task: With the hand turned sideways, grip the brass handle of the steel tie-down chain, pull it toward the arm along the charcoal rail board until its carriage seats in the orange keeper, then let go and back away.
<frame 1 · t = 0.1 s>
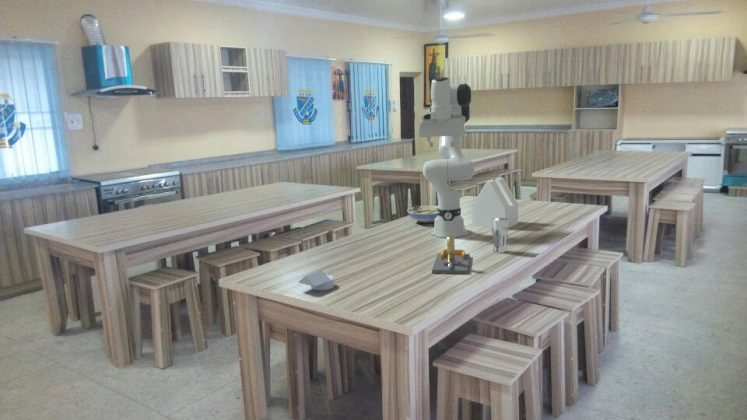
hand: (442, 146, 242), 48 cm above the table, tool pointing down, fingers open, 8 cm apart
milk carton: (495, 225, 299), on the table
ramen bowl: (427, 222, 313), on the table
rail board: (451, 264, 230), on the table
wedge on round base: (319, 288, 209), on the table
beer glass: (499, 251, 247), on the table
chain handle: (450, 251, 223), point 7 cm above the table, slide at 0.0 cm
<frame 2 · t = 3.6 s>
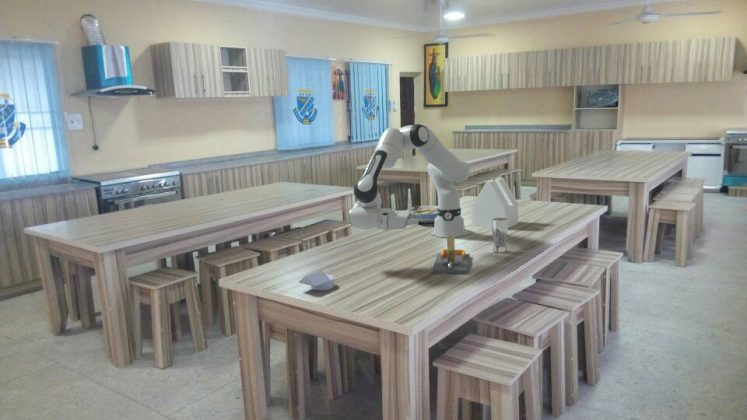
hand: (419, 219, 226), 20 cm above the table, tool horizontal, fingers open, 8 cm apart
nothing on the table moved.
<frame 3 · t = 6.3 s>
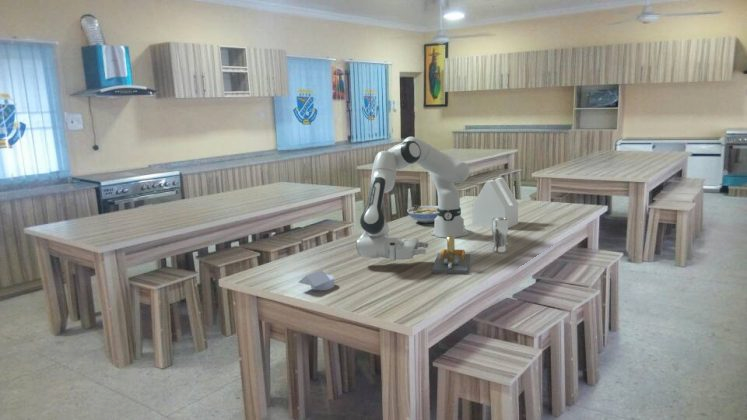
hand: (426, 248, 228), 8 cm above the table, tool horizontal, fingers open, 8 cm apart
nothing on the table moved.
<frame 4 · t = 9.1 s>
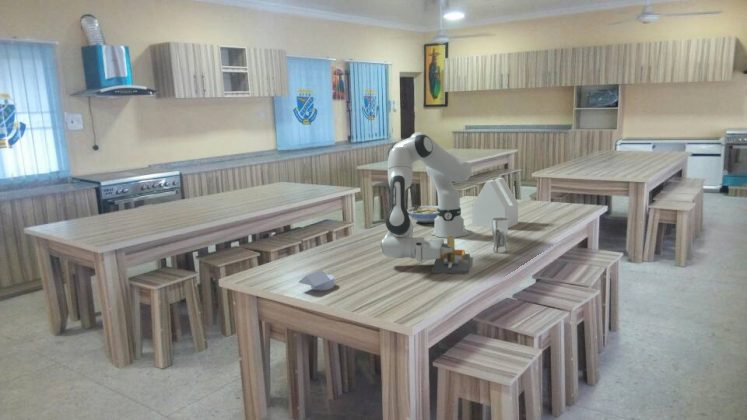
hand: (453, 248, 226), 8 cm above the table, tool horizontal, fingers closed on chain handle, 3 cm apart
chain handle: (450, 251, 223), point 7 cm above the table, slide at 0.0 cm, touching gripper
everything else where it was.
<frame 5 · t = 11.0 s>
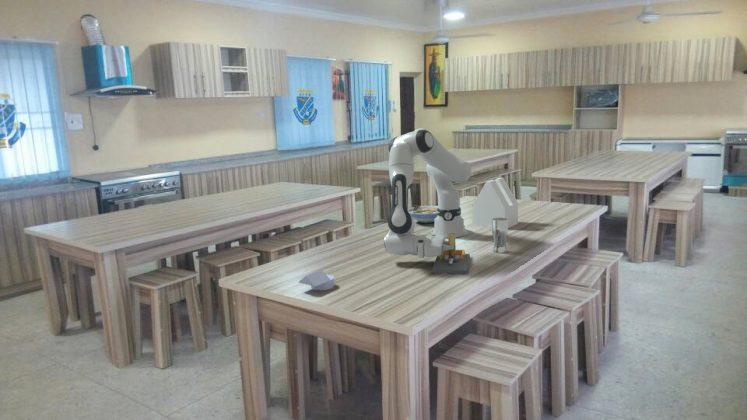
hand: (454, 245, 231), 8 cm above the table, tool horizontal, fingers closed on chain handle, 3 cm apart
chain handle: (451, 248, 229), point 7 cm above the table, slide at 5.5 cm, touching gripper
everything else where it was.
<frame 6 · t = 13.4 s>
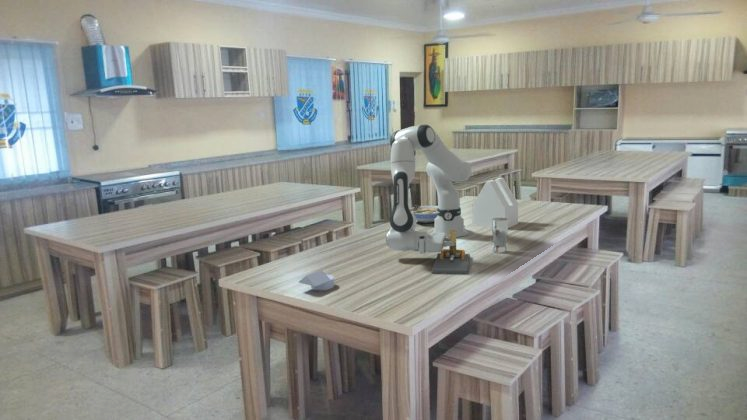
hand: (454, 241, 236), 8 cm above the table, tool horizontal, fingers open, 4 cm apart
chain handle: (452, 245, 233), point 7 cm above the table, slide at 10.5 cm, touching gripper
everything else where it was.
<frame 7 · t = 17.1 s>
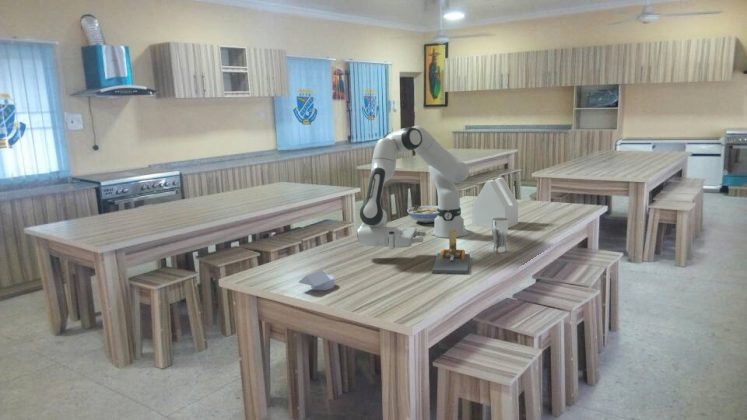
hand: (424, 236, 239), 10 cm above the table, tool horizontal, fingers open, 8 cm apart
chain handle: (452, 245, 233), point 7 cm above the table, slide at 10.5 cm
everything else where it was.
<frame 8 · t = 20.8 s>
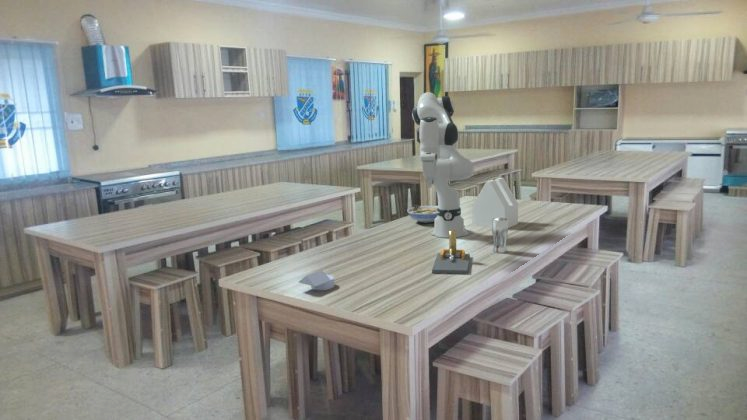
hand: (430, 185, 243), 31 cm above the table, tool pointing down, fingers open, 8 cm apart
nothing on the table moved.
at the end: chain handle slide at 10.5 cm; the gripper is holding nothing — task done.
